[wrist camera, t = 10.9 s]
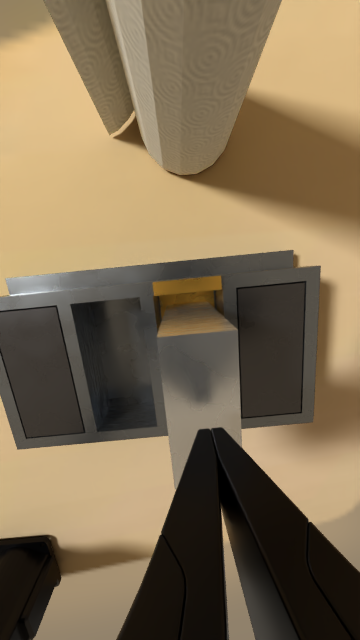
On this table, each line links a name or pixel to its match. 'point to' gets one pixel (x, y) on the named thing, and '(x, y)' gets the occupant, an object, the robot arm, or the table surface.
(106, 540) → the table surface
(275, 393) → the rack
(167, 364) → the plain gray rectangular block
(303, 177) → the table surface
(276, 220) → the table surface
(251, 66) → the paper towel roll
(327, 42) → the table surface
